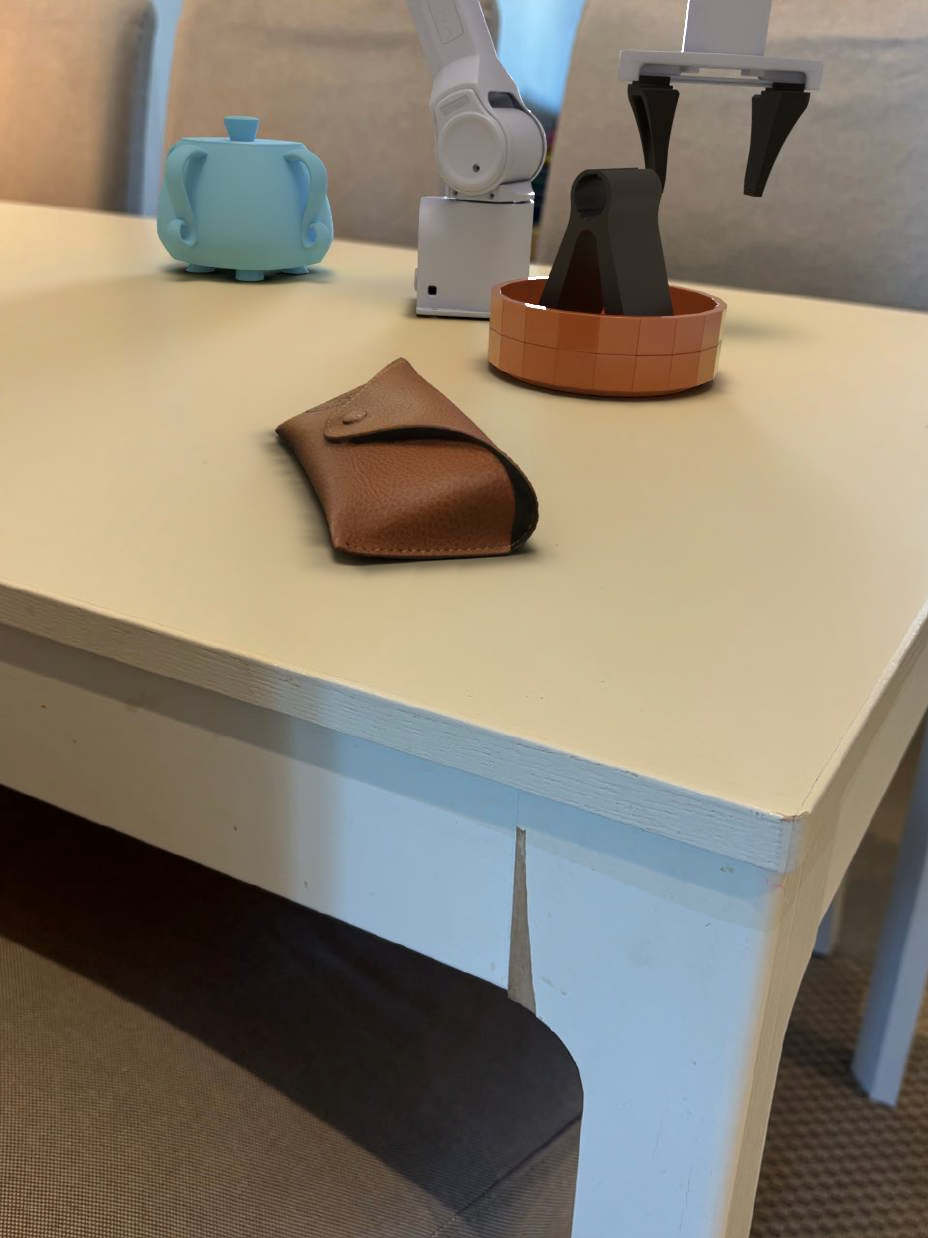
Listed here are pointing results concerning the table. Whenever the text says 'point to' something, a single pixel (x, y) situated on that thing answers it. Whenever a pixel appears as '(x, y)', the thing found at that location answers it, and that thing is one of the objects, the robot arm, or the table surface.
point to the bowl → (605, 343)
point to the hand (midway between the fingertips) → (703, 194)
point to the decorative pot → (244, 203)
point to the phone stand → (611, 247)
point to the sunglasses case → (410, 473)
